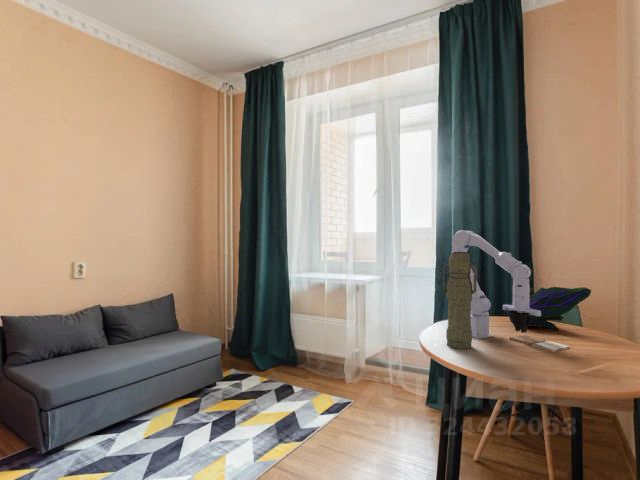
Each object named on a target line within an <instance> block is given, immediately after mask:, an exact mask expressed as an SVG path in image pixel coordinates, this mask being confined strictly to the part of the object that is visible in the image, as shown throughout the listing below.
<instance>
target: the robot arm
mask: <svg viewBox="0 0 640 480" xmlns="http://www.w3.org/2000/svg"><path fill="white" fill-rule="evenodd" d="M451 241H452V244H451V245H452V247H451V253H453V252H466V253H468V251H469V248H470V247H478V248H479V249H481V250H482V251H483V252H484V253H486V254H487V255H489V256H491V257H492V258H494V261H495V264H496V265H498V266H500V268H502V269H503V270H504V271H506V272H507V273H508V274H510V275H511V278H512V303H513V305H508V304H502V310H503V311H506V310H509V311H511V312H510V313H509V315H510V317H511V319H512V321H513V323H514V325H513V327H514V330H515V332H520V331H521V334H522V333H523V334H524V333H525V334H526V333H527V332H528V331H527V330H528V326H530V325H529V322H530V320H531V319H532V317H533V315H535V316H541V311H539V310H535V309H532V308H530V307H529V305H530V295H531V294H530V288H531V287H530V277H531V275H532V270H531V268H530V267H529V266H528V265H527V264H524V263H523V262H522V260H521V261H520V260H517V259H516V258H515V257H513V256H512V253H511V252H506V251H500V250H498V249H497V248H496V247H494V246H493V245H492V244H491V243H489V242H488V241H487V240H486V239H485V238H483V237H482V236H480V234H477V233H475V232H474V231H472V230H463V229H460V230H457V231H456V232H454V235H453V236H452V239H451ZM470 277H471V279H470V280H471V283H472V290H473V291H474V270H473V268H471V273H470ZM476 290H477V291H476V292H475V293H474V294H472V301H471V330H472V338H474V339H475V338H476V339H484V338H490V337H494V334H491V333H490V312H489V310H490V309H491V307H492V304H491V301H490V299H488V297H487V296H486V295H485V292H484V291H482V290H481V287H480V285H479V282H477V285H476ZM523 311H524V312H523ZM513 323H512V324H513Z"/></svg>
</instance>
